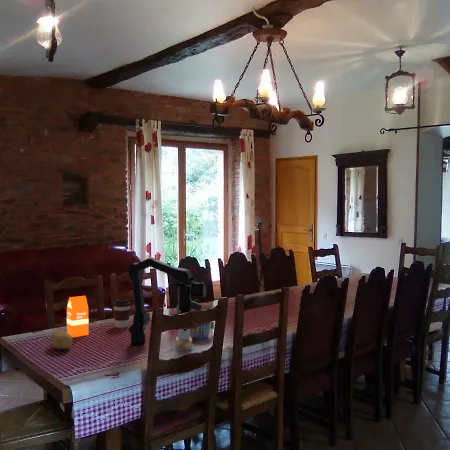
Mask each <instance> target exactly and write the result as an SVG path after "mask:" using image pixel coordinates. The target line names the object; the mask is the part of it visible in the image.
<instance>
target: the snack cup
mask: <svg viewBox="0 0 450 450" xmlns="http://www.w3.org/2000/svg"><path fill="white" fill-rule="evenodd" d="M191 329H192V328H191ZM191 329H190V334H191V332H192V336H193V338H194V339H197V340H198V339H199V340H202V339H203V340H204V339H207V338H208V337H209V331H210V329H211V330H213V329H215V324H214V321H213V322H210V323H207V324H203V325H201V326H199V327H197V328H194V329H192V331H191Z"/></svg>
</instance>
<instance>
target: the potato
mask: <svg viewBox="0 0 450 450" xmlns="http://www.w3.org/2000/svg"><path fill="white" fill-rule="evenodd" d="M50 339H51V340H50V341H51V345H52V347H54V348H56V350H57V349H58V350H67V349H69V348H70V347H71V346H72V344H73V337H72V336H71V335H70V334H69V333H67V331H65V330H64V329H63V330H61V329H57V330H55V331H54V332H52V335H51V338H50Z"/></svg>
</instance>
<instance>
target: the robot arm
mask: <svg viewBox="0 0 450 450" xmlns="http://www.w3.org/2000/svg"><path fill="white" fill-rule="evenodd" d="M149 267H150V268H152V269H155V270H157V271H159V272H162V273H164V274H167V275H169V276H171V277H173V279H175V281H177V282H175V284H174V285H173V287H175V288H177V287H178V288H177V289H178V292H177V293H178V298H177V299H178V300H177V302H178V304H177V305H176V311H177V315H178V314H182V313H185V312H189V311H192V310H195V311H197V310H202V308H203V306H204V305H203V304H202V303H201V302H200V300H199V299H197V298H206V296H207V286H206V284H205V283H206V282H197V281H196V279H195V277H193V274H192V272H191V269H187V268H184V267H176V266H173V265H170V264H168V263H165V262H163V261H161V260H158V259H156V258H154V257H152V256H151V257H148V258H146V259H144V260H142V261H139V262H135V263H131V264H129V265H128V267H127V273H128V277H129V279H130V281H131V283H132V292H133V293H132V294H133V303H134V314H133V318H132V325H131V326H130V325H129V326H128V327H127V329H128V332H129V333H130V346H144V345H145V343H146V332H145V330H146V329H147V327H148V326H149V325H150V321H151V319H150V314H151V313H150V312H147V311H146V309H145V308H146V307H145V298H144V288H143V287H144V286H143V279H144V273H145V270H146V269H148V268H149ZM191 296H192V297H194V298H196V299H194V300H192V298H191ZM183 330H184V331H186V330H187V329H183Z"/></svg>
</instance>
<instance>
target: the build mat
mask: <svg viewBox="0 0 450 450" xmlns="http://www.w3.org/2000/svg"><path fill="white" fill-rule="evenodd" d="M172 347H173V351H174V352H175V351H177V352H178V351H196V347H195V344H194V343H192V349H178V350H177V347H176V343H175V344H172Z"/></svg>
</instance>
